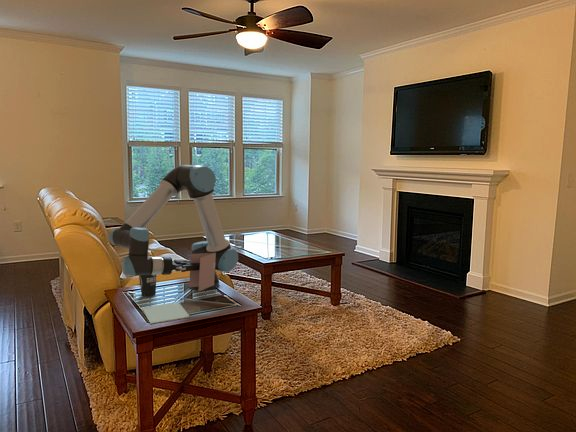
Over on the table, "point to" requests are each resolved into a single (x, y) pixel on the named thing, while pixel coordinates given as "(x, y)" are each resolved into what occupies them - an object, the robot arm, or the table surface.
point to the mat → (165, 312)
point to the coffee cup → (147, 285)
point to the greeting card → (203, 270)
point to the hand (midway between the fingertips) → (214, 265)
